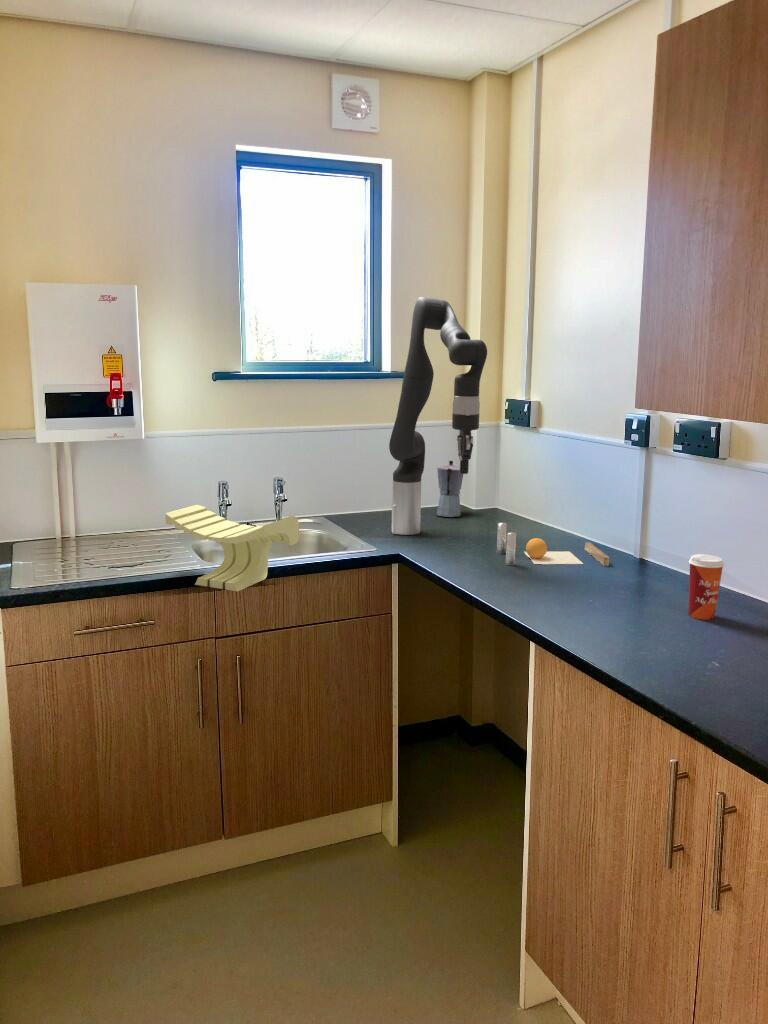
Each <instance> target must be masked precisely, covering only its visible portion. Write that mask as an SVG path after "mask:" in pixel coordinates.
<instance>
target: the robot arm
mask: <svg viewBox="0 0 768 1024" xmlns="http://www.w3.org/2000/svg"><path fill="white" fill-rule="evenodd" d="M452 307H453V306H452V305H451V304H450V303H449V302H448V301H447V300H445V299H439V298H435V297H427V296H419V298H417V300H416V302H415V304H414V307H413V313H412V319H411V321H412V322H411V329H410V330H411V331H410V339H409V345H408V346H409V347H408V353H407V358H406V363H405V368H404V374H403V378H402V383H401V390H400V397H399V401H398V406H397V408H398V409H397V412H396V417H395V420H394V423H393V424H394V425H393V428H392V431H391V434H390V437H389V438H390V439H389V445H388V447H389V448H388V449H389V453H390V456H391V457H392V458H393V459H394V461H397V462H399V464H398V465H397V467H396V468H395V470H394V471H393V473H392V502H391V533H392V535H401V536H402V535H404V536H409V535H410V536H412V535H418V534H421V515H422V514H421V512H422V510H421V509H422V508H421V505H422V501H421V500H422V475H423V474H424V470H425V460H426V443H425V439H424V437H423V435H422V434H421V433H420V432H419V431H417V430H416V428H417V422H418V419H419V416H420V415H421V413H422V411H423V409H424V407H425V405H426V403H427V401H428V400H429V398H430V394H431V391H432V387H433V382H434V381H433V380H434V376H435V372H434V368H433V365H432V361H431V360H430V357H429V355H428V353H427V349H426V346H425V345H426V344H425V330H426V329H428V330H432V331H433V330H434V331H440V333H439V334H440V335H439V336H440V340H441V342H442V343H443V345H444V346H445V347H446V348H447V350H448V351H447V352H448V357H449V361H450V362H451V363H452V364H454V365H456V366H470V368H469V370H468V371H467V372H465V373H460V374H457V375H456V376H455V378H454V382H453V400H452V415H451V416H452V418H451V419H452V420H451V421H452V422H451V423H452V424H451V426H452V427H451V428H452V429H454V430H457V431H459V435H457V436H456V441H457V451H458V454H457V455H458V457H459V467H460V473H461V474H463V475H467V474H469V463H470V462H469V461H470V460H471V459H472V453H473V452H472V451H473V447H474V436H472V431H477V430H479V428H480V412H481V411H480V410H481V409H480V406H481V405H480V404H481V403H480V382H481V378H482V373H483V371H484V366H485V363H486V361H487V357H488V348H487V347H488V346H487V345H486V343H485V342H484V341H483V340H481V339H471V336H470V335H469V333H468V332H467V331H466V330H465V329H464V328H463V327H462V326H461V324H460V322H459V321H458V317H457V315H456V314H455V310H453V308H452Z"/></svg>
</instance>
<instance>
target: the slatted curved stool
mask: <svg viewBox="0 0 768 1024" xmlns="http://www.w3.org/2000/svg"><path fill="white" fill-rule="evenodd" d="M165 525H172V526H173V525H174V529H175V530H183V534H186V535H191V534H192V539H198V540H203V541H204V540H208V541H211V542H219V544H220V546H221V548H222V550H223V555H224V558H223V561H222V563H221V564H220V565H219V566H217V567H216V568H215V569H213V570H212V571H210V572H208V573H206V574H204V575H202V576H199V577H197V579H196V582H195V583H194V585H195V586H202V587H209V588H214V589H221V590H223V589H225V590H227V591H234V592H239V591H242V590H244V589H246V588H248V587H250V586H253V585H255V584H257V583H259V582H261V581H264V580H266V578H267V576H268V570H269V569H268V566H269V565H268V564H269V557H270V556H269V555H270V551H271V547H272V545H273V544H272V542H278V543H282V542H283V543H284V544H286V545H290V546H293V545H295V544H297V543H299V542H300V523H299V520H298V518H297V517H296V516H295V515H291V516H288V517H285V518H282V519H278V520H275V521H273V522H271V523H268V524H265V525H257V526H255V525H248V524H241V523H238V522H234V521H232V520H228V519H227V520H226V517H222V516H220V515H218V514H217V513H216V512H213V511H211V510H209V509H208V508H207V507H205V506H203V505H200V504H195V505H189V506H187V507H184V508H179V509H176V510H172V511H168V512H165Z"/></svg>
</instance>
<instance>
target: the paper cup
mask: <svg viewBox="0 0 768 1024" xmlns="http://www.w3.org/2000/svg"><path fill="white" fill-rule="evenodd" d="M688 563H689V582H688V583H689V586H688V616H689V617H690V616H691V618H692V617H693V619H695V618H696V619H695V620H700V619H701V620H702V621H711V620H710V619H712V620H714V619H715V615H716V610H717V605H718V599H719V594H720V593H719V592H720V588H721V587H720V585H721V579H722V574H723V567H725V563H724V560H723V558H721V557H720V556H717V555H714V554H713V555H712V554H705V553H704V554H703V553H701V554H700V553H696V554H692V555H691V556H690V559H689V560H688ZM713 618H714V619H713Z"/></svg>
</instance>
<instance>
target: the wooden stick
mask: <svg viewBox="0 0 768 1024" xmlns="http://www.w3.org/2000/svg"><path fill="white" fill-rule="evenodd" d="M585 550H586V551H587V552H588V553H589V554H588V553H587V552H586V551H585ZM584 551H585V552H586V553H587V554H588V555H589V556H591V555H592V556H593V557H594V558H595V559H594V558H593V557H592V556H591V557H592V558H593V559H594V560H596V561H597V562H598V561H599V562H600V563H599V562H598V563H599V564H601V565H602V566H603V567H609V566H610V557H609V556H608V555H607V554H605V552H603V550H601V549H599V548H598V547H596V546H595V545H594V544H593V543H592V542H588V541H587V542H585V543H584Z"/></svg>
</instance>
